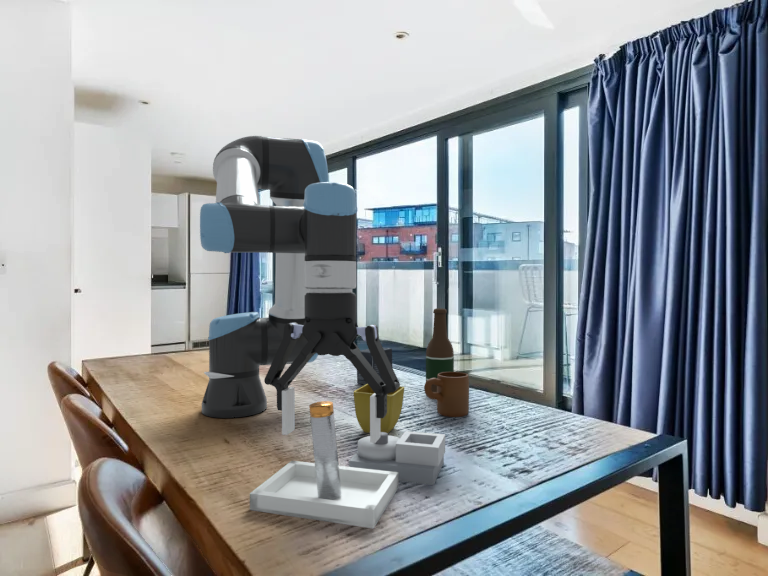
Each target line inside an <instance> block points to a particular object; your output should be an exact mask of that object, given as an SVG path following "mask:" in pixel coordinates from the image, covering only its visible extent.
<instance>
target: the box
mask: <svg viewBox="0 0 768 576" xmlns="http://www.w3.org/2000/svg"><path fill="white" fill-rule="evenodd" d="M383 349H384V351H385V353H386V355H387V357H388V360H389V362H390V364H391V366H392V367H393V349H392V347H391V348H390V347H383ZM360 351H361V353H362V355H363V356H364V357H365V359H366V360H367V361H368V362H369V364H370V365H371V366H372V368H373V369H374V370H375V371H376V373H377V374H378V375H379V376H380V378H381V379H382V380H383V378H382V376H381V374H380V372H379V370H378V368H377V365H376V363H375V361H374V359H373V357H372V355H371V353H370V351H369V348H367V349H360ZM356 382H357V383H358V384H357V383H356V384H357V385H361V384H363V385H362V386H364V385H366V384H368V383H367V382H366V381H365V380H364V378H363V377H362V376H361V374H360V373H359V372H358V371H357V370H356ZM383 382H384V380H383ZM384 383H385V382H384Z"/></svg>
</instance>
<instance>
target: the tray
mask: <svg viewBox="0 0 768 576" xmlns="http://www.w3.org/2000/svg"><path fill="white" fill-rule="evenodd" d="M339 474H340V484H341V496H340V497H338V498H336V499H334V500H328V499H320V498H318V491H317V481H316V471H315V462H307V461H298V460H291V461H289V462H288V463H287V464H286V465H284V466H283V467H281V468H280V469H279V470H277V471H276V472H275V473H274V474H273V475H272V476H270V477H269V478H267V479H266V480H265V481H264V482H262V483H261V484H260V485H259V486H257V487H256V488H255V489H253V490H252V491H250V493H249V511H253V512H261V513H266V514H267V513H269V514H273V515H274V514H275V515H281V516H286V517H293V518H300V519H306V520H307V519H308V520H313V521H320V522H325V523H326V522H327V523H333V524H341V525H348V526H355V527H360V528H365V529H366V528H368V529H374V528H375V527H376V525H377V524H378V522H379V521H380V519H381V517H382V516H383V515H384V513H385V510H386V509H387V507H388V506H389V504H390V503H391V501H392V500H393V498H394V496H395V494H396V492H397V491H398V490H399V481H398V472H392V471H382V470H373V469H364V468H355V467H349V466H345V465H339Z"/></svg>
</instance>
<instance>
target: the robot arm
mask: <svg viewBox="0 0 768 576" xmlns="http://www.w3.org/2000/svg"><path fill="white" fill-rule="evenodd" d="M327 161H328V160H327V156H326V151H325V149H324V147H323V146H322V144H321V143H320V142H318V141H315V140H309V139H304V138H290V137H289V138H288V137H273V136H262V135H249V136H244V137H240V138H238V139H235V140H233V141H231V142H229V143H227V144H225V145H224V146H223V147H221V149H220V150H219V151H218V152H217V154H216V155H215V157H214V160H213V162H212V163H213V164H212V173H213V178H214V180H215V182H216V192H215V203H213V202H212V203H210V202H209V203H204V204H202V206H201V207H200V210H199V215H200V216H199V233H200V235H199V238H200V239H199V240H200V246H201V247H202V249H203V250H205V251H207V252H216V253H217V252H218V253H224V254H230V253H238V254H239V253H240V254H241V253H244V254H245V253H249V254H250V253H253V254H254V253H257V254H258V253H266V254H267V253H273V254H274V253H275V275H274V276H275V277H274V278H275V281H274V282H275V286H274V287H275V288H274V290H275V291H274V294H275V297H274V304H273V305H272V306H271V307H270V308H269V309H268V317H261V315H260V314H259V312H258V311H251V312H242V313H234V314H233V313H232V314H228V315H222V316H218V317H215V318H213V319H212V320H211V321H210V323H209V325H208V326H209V330H208V338H207V340H208V341H209V342H208V343H209V344H208V348H209V350H208V351H209V353H208V355H209V356H208V358H209V359H208V360H209V361H208V362H209V364H208V368H209V369H208V372H215V373H220V374H226V375H232V376H234V377H226V378H215V379H213V378H209V377H208V378H209V379H208V382H207V385H206V389H205V392H204V395H203V398H202V401H201V414H202V415H204V416H206V417H210V418H216V419H217V418H220V419H231V418H232V419H233V418H234V417H235V418H243V417H248V416H253V415H257V414H259V413H262V411H263V412H264V411H266V410H267V409H268V408H267V407H268V400H267V396H266V393H265V389H264V387H263V383H262V382H261V378H260V366H269V368H268V371H267V373H266V375H265V377H264V380H263V382H264V384H265V385H268V386H269V385H270V386H272V387H274V388H275V389H276V409H277V411H281V435H282V436H287V435H289V434H290V433H292V432H293V431H295V423H296V422H295V421H296V420H295V415H296V414H295V411H296V410H295V408H296V407H295V406H296V405H295V403H296V402H295V392H296V390H295V387H294V386H291V385H292V382H293V381H294V380H295V379H296V378H297V377H298V375H299V373H300V372H301V371H302V370H303V369H304V368H305V366H306V365H307V364H309V363H313V362H314V361H316V360H317V358H318V357H319V356H326V355H329V356H332V357H339V356H341V355H343V356H344V357H345V359H347V360H348V361H349V362H350V363H351V364H352V366H353V367H354V368H355V369H356V372H357V371H358V372H359V373H360V374H361V376H362V377H363V378H364V380H365V381H366V382H367V383H368V385H369V386H370V387H371V389H372V390H373V391H374V392H375V393H374V394H373V395H371V396H370V433H369V436H370V443H376V442H377V441H378V439H379V438H380V418H384V417H385V416H386V414H387V394H388V393H391V392H395V391H396V390H397V389H398V388H399V387H400V386H401V383H400V381H399V378H398V377H397V374H396V373H395V371H394V368H393V365H392V366H391V364H390V362H389V360H388V357H387V355H386V353H385V351H384V349H383V348H384V347H383V345H382V343H381V341H380V336H379V327H378V325H376V324H370V325H367V326H366V325H364V326H359V325H358V323H357V294H356V293H355V292H353V289H356V288H357V257H356V256H357V212H358V207H357V199H356V197H357V195H356V190H355V188H354V187H353V186H351V185H350V184H347V183H342V182H332V181H329V169H328V163H327ZM259 190H266V191H267V190H268V191H269V199H271V201H272V202H273V203H274V204H275V205H268V204H267V205H265V204H261V202H260V194H259V193H260V192H259ZM359 336H360V337H361V339H362V340H363V341H364V342H366V345H367V349H369V351H370V353H371V355H372V357H373V359H374V361H375V363H376V365H377V368H378V370H379V372H380V374H381V376H382V378H383V380H384V382H385V383H384V382H383V380H382V379H381V378H380V376H379V375H378V374H377V373H376V371H375V370H374V369H373V368H372V366H371V365H370V364H369V362H368V361H367V360H366V359H365V357H364V356H363V355H362V353H361V349H360V348H359V347H358V345H357V344H356V342H355V341H356V340H357V338H359ZM286 365H289V366H288V367H287V368H286V370H285V371H284V369H285V367H286ZM283 371H284V372H283ZM265 409H266V410H265Z"/></svg>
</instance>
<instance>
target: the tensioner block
mask: <svg viewBox="0 0 768 576" xmlns="http://www.w3.org/2000/svg"><path fill="white" fill-rule="evenodd" d="M445 454H446V434H445V433H443V434H442V433H431V432H421V431H408V430H405V431H404V432H403V434H402V435H401V436H400V437H399V436H395V435H394V436H393V435H389V433H385V432H380V438H379V439H378V441H377V442H376V443H370V435H368V436H364V437H361V438H360V439H359V440H357V452H355V454H354V455H353V456H352V457H351V458H350V459H349V460H348V467H355V468H364V469H373V470H382V471H392V472H398V482H403V483H411V484H419V485H428V486H434V485H435V484H436V483H435V482H436V481H437V479H438V477H439V474H440V472H441V469H442V468H443V466H444V463H445V462H444V461H445V459H444V457H445V456H444V455H445Z"/></svg>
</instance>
